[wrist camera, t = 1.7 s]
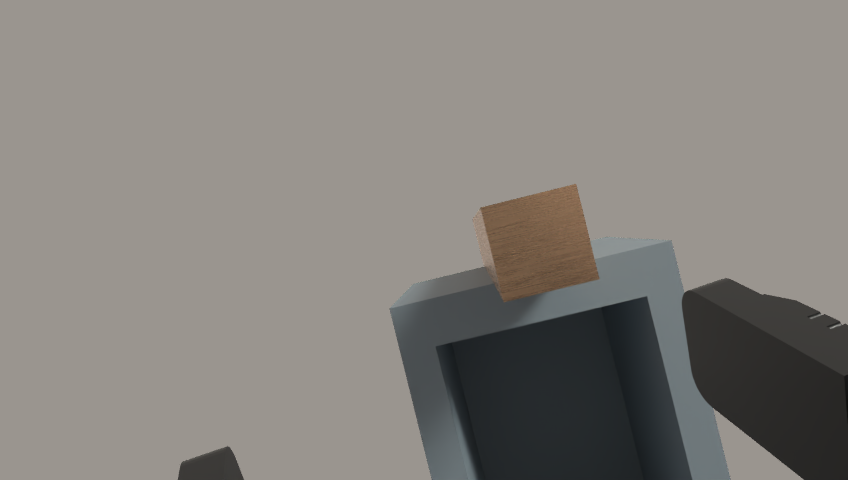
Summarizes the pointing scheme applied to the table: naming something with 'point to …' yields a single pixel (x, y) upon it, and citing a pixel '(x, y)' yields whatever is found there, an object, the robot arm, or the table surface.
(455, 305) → the tall grey-blue box
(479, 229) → the wooden plank with hole
